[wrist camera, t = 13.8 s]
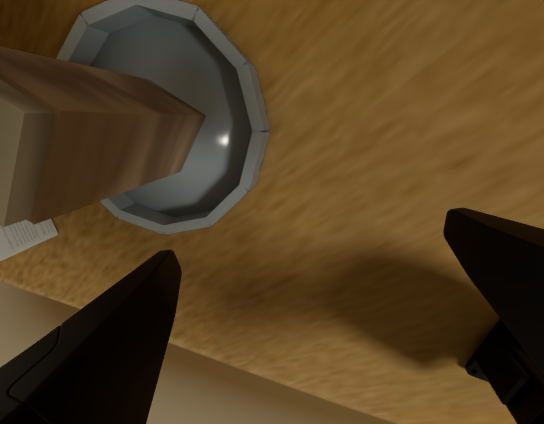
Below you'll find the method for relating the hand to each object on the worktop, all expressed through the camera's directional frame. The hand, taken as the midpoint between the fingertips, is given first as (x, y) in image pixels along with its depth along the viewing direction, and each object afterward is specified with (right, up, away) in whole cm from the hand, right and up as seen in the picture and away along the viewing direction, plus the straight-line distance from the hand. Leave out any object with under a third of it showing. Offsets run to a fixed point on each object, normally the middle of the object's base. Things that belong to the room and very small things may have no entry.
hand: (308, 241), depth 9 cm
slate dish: (-9, +8, +13) cm, 18 cm away
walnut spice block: (-10, +8, +12) cm, 17 cm away
